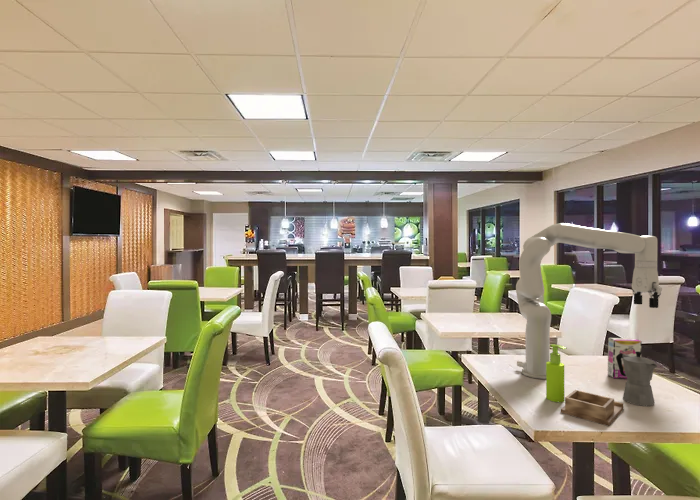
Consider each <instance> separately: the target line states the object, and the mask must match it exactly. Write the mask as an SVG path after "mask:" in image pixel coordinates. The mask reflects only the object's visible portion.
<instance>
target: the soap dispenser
mask: <svg viewBox="0 0 700 500" xmlns="http://www.w3.org/2000/svg"><path fill="white" fill-rule="evenodd" d="M551 347H552V352H550V361H549V362H546V379H545V381H546V382H545V388H546V390H545V395H546V397H545V398H546V399H547V400H548V401H550V402H554V403H563V402H564V403H565V364H564V363H563V362H561V354H560V353H559V349H560V350H567V348H568V347H566V346H563V345H560V344H554V343H552V344H550V348H551Z"/></svg>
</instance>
